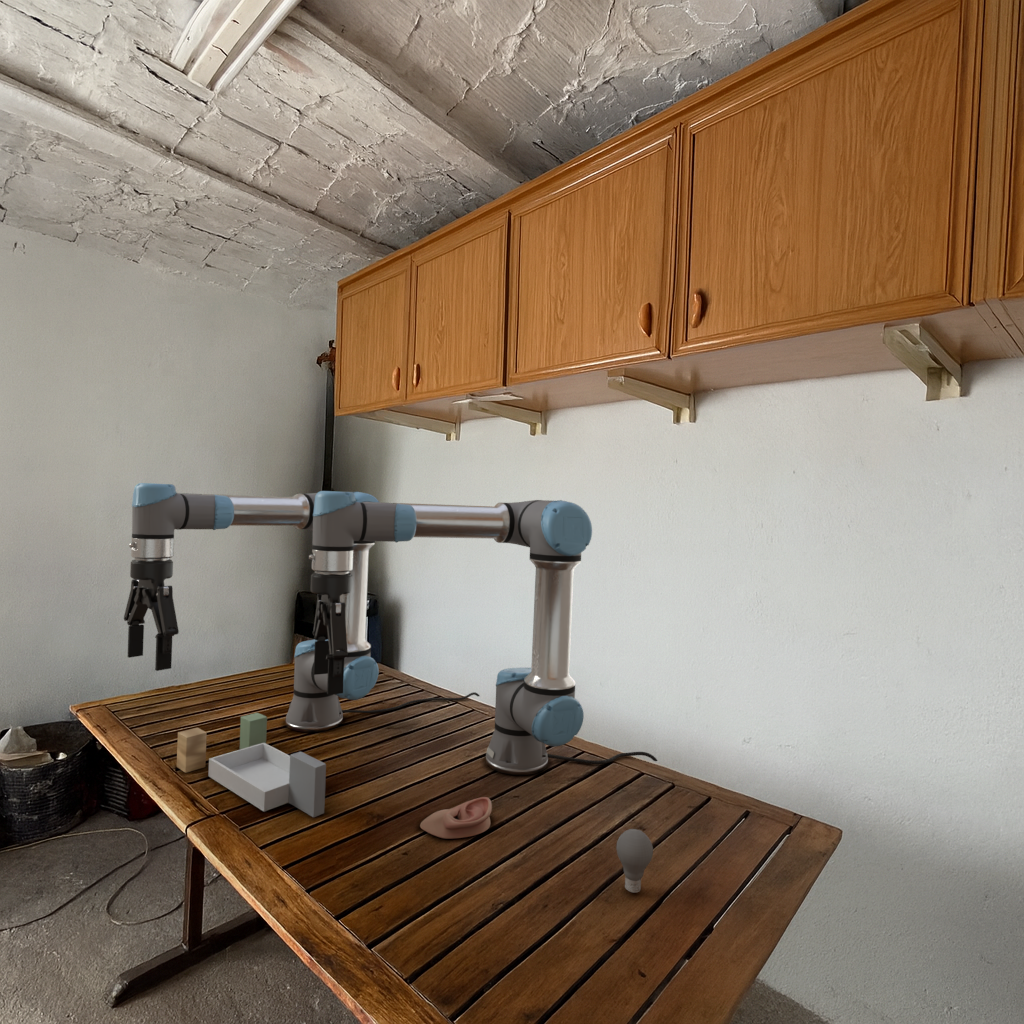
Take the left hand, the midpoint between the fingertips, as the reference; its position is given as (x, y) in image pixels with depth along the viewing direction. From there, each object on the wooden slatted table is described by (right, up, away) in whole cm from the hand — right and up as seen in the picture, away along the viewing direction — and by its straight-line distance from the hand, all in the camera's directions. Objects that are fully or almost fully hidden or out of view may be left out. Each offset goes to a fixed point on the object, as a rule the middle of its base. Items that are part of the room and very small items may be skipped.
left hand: (148, 662), depth 129 cm
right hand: (+39, -2, -9) cm, 40 cm away
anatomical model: (+63, -31, -5) cm, 70 cm away
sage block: (+10, -28, +28) cm, 41 cm away
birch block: (+1, -28, +16) cm, 32 cm away
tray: (+23, -29, +7) cm, 38 cm away
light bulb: (+94, -33, -24) cm, 103 cm away
